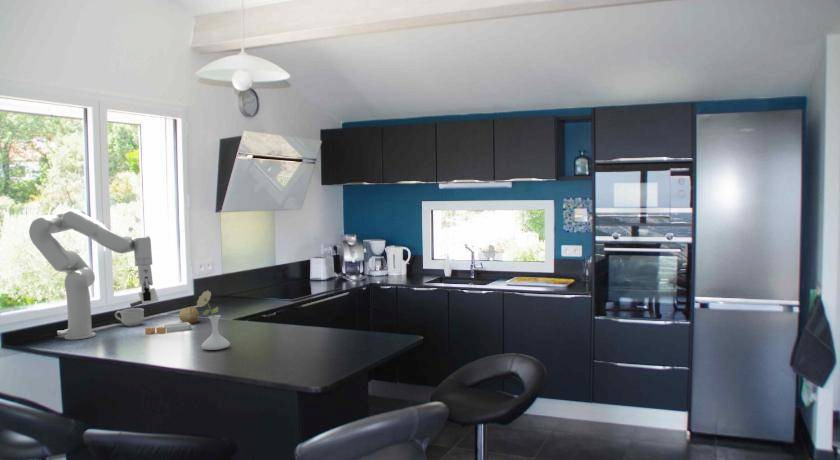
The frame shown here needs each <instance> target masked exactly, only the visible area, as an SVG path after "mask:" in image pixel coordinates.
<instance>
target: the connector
mask: <svg viewBox="0 0 840 460" xmlns="http://www.w3.org/2000/svg"><path fill="white" fill-rule="evenodd" d="M143 293H144V292H143V291H142V290H141V291H139V292H138V296H139V300H138V301H135V302H132V303H130V305H129V306H130V308H135V307H137V306H140V305H142V306H145V305H149V304H152V303H155V302H159V298H158V294H157V292H156V288H155V287H152V288H150V294H151V300H150V301H144V300H143Z"/></svg>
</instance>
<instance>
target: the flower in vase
mask: <svg viewBox="0 0 840 460" xmlns="http://www.w3.org/2000/svg"><path fill="white" fill-rule="evenodd" d="M211 296H212V293H211V291H210V290H205V291H203V292H202V293H201V295H200V296H198V299H197V301H196V306H197V307H199V308H202V307H203V306H205V305H207V306H208V308H209V309H206V310H204V311H203V312H202V314H201V315H203V316H206V315H208V314H209V313H211V314H212V315H209V316H208V320H210V323H211V328H212V329H211V330H212V331H211V334H210V336H209V337H207V338H206V339H205V340H204V341H203V343H202V344H201V346H200V347H201V348H202V349H203V350H207V351H218V350H223V349H226V348H228V347H229V346H230V341H229V340H228V339H226V338H225V337H224V336H222V335H221V333H220V332H219V320H220V318H221V315H220V314H216V313H218V312H219V306H216V307H215V308H213V309H211V306H210V304H209V302H210V300H211ZM214 314H215V315H214Z"/></svg>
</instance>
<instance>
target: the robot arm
mask: <svg viewBox="0 0 840 460" xmlns="http://www.w3.org/2000/svg"><path fill="white" fill-rule="evenodd" d="M70 230H73V231H75V232H78V233H79V234H82V235H84V236H86V237H87V238H90V239H92V240H93V241H94V242H96V243H98V244H99V245H101V246H103V247H104V248H106V249H107V250H108V249H109V250H111V251H113V252H115V253H117V254H126V253H130V252H131V253H132V252H133V253H134V254H133V255H134V266H135V267H137V270H138V271H137V274H138V283H139V285H140V286H141V292H142V291H143V292H144V293H143V300H144V301H150V300H151V294H150V289H151V287H150V286H153V284H154V282H153V275H152V274H153V273H152V267H151V265H153V254H152V242H151V237H150V236H149V235H142V236H141V235H139V236H121V235H119V234H116V233H114V232H113V231H111V230H110V229H108V228H107V227H106V226H105V225H104V223H102V222H101V221H98V220H97V219H94V218H93V217H92V216H88V214H87V213H86V212H85V211H84V210H82V209H68V210H66V211H65V212H62V213H58V214H57V213H56V214H52V215H51V214H50V215H40V216H38V217H36V218H35V219H34V220H32V222H31V224H30V226H29V230H28V234H29V239H30V241H31V243H32V244H33V245H34V246H35V247H36V249H37V250H38V251H39V252H40V253H41V255H42V256H43V257H44V258H45V260H47V262H48V263H49V264H50V265H51V267H52V268H53V269H54V270H55V271H57V272H60V273H62V272H65V273H66V276H65V278H64V288H65V294H66V307H67V329H64V330H57V331H56V332H57V333H56V334H57V336H64V339H65V340H83V339H89V338H93V337H95V336H96V335H97V334H96V332H94V331H92V330H93V329H92V307H91V306H92V305H91V294H90V290H89V287H90V286H92V285H93V284H94V283H95V280H96V279H95V278H96V277H95V273H94V272H93V270H92V269H91V268H90V267H89V265H88V264H87V263H86V261H85V260H84V259H83V258H82V257H81V256H80V255H79V254H78V253H77V252H75V251H73V250H66V249H65V248H64V247H63V246H62V245H61V243H60V242H59V241H58V240H57V239H56V238H55V237H54V236H53V235H52V234H57V233H60V232H65V231H70Z"/></svg>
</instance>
